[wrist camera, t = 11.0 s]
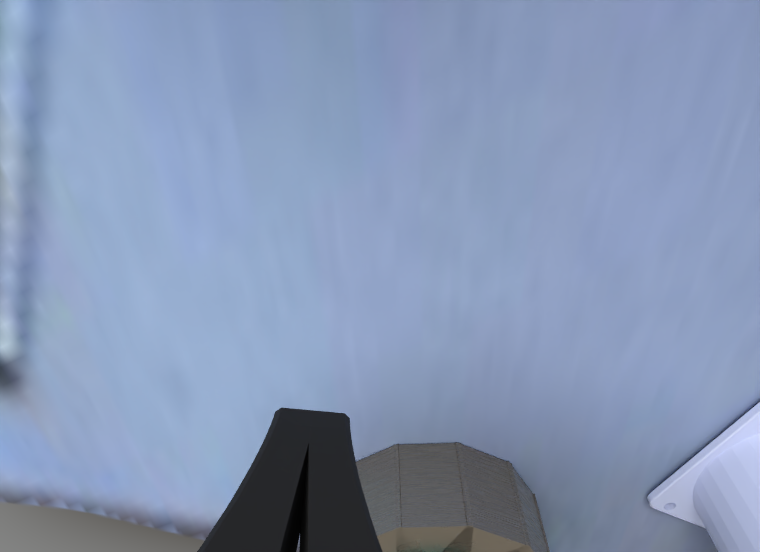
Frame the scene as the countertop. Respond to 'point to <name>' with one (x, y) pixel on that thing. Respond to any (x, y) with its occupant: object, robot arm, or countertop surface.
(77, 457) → the countertop surface
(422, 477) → the brown faceted tube
